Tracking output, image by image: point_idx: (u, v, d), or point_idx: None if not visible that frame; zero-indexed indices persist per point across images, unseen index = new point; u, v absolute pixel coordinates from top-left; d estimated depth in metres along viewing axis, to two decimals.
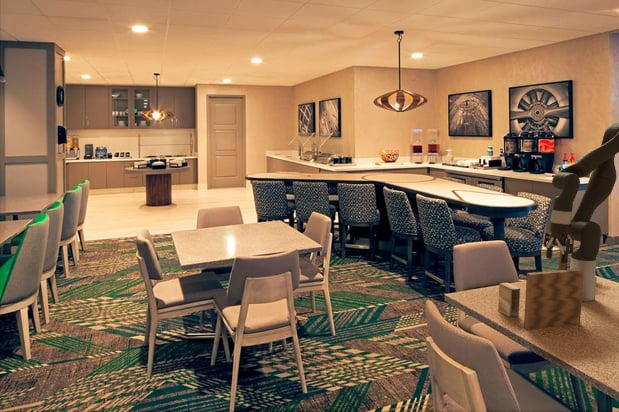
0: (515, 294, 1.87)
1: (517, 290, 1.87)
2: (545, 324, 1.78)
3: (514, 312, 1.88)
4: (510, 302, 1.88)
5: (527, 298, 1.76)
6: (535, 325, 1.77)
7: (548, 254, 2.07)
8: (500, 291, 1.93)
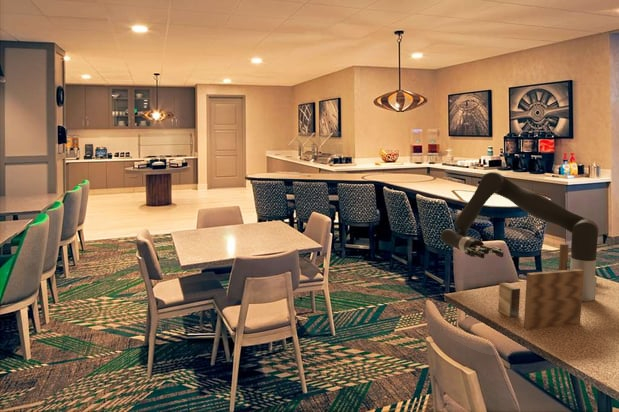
0: (515, 294, 1.87)
1: (517, 290, 1.87)
2: (545, 324, 1.78)
3: (514, 312, 1.88)
4: (510, 302, 1.88)
5: (527, 298, 1.76)
6: (535, 325, 1.77)
7: (499, 255, 2.03)
8: (500, 291, 1.93)
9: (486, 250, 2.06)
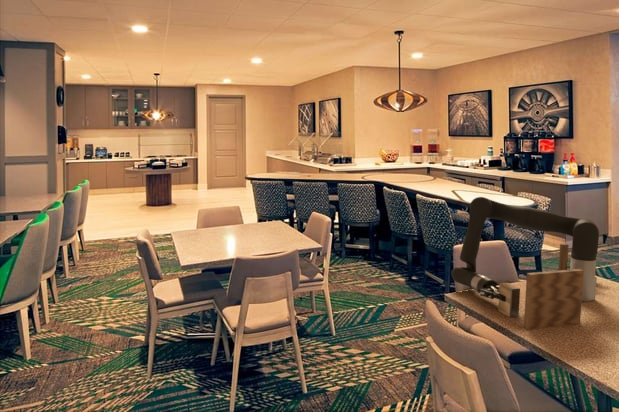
0: (515, 294, 1.87)
1: (517, 290, 1.87)
2: (545, 324, 1.78)
3: (514, 312, 1.88)
4: (510, 302, 1.88)
5: (527, 298, 1.76)
6: (535, 325, 1.77)
7: None
8: (500, 291, 1.93)
9: (497, 291, 1.98)
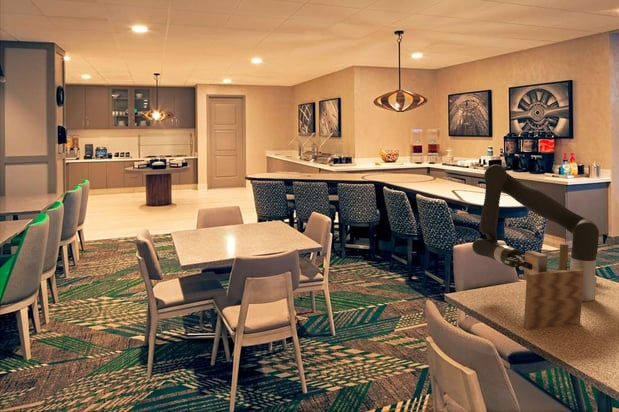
0: (542, 261, 1.80)
1: (544, 257, 1.80)
2: (545, 324, 1.78)
3: None
4: (537, 270, 1.81)
5: (527, 298, 1.76)
6: (535, 325, 1.77)
7: None
8: (526, 259, 1.87)
9: None
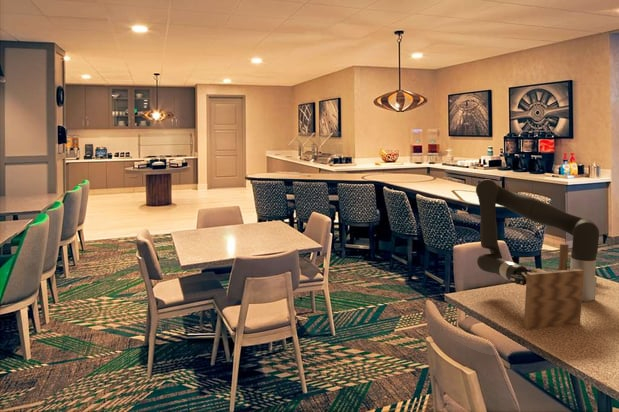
0: None
1: None
2: (545, 324, 1.78)
3: None
4: None
5: (527, 298, 1.76)
6: (535, 325, 1.77)
7: None
8: None
9: None
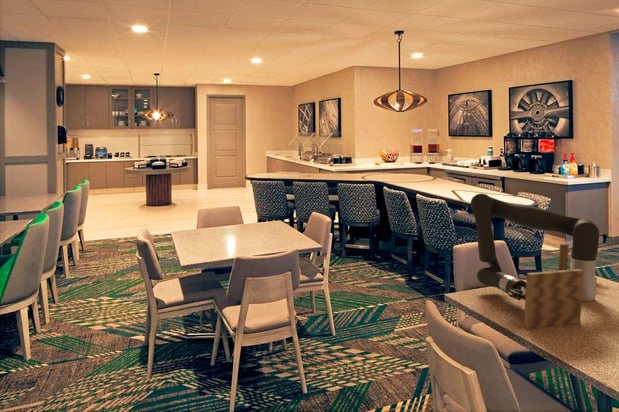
0: None
1: None
2: (545, 324, 1.78)
3: None
4: None
5: (527, 298, 1.76)
6: (535, 325, 1.77)
7: None
8: None
9: None
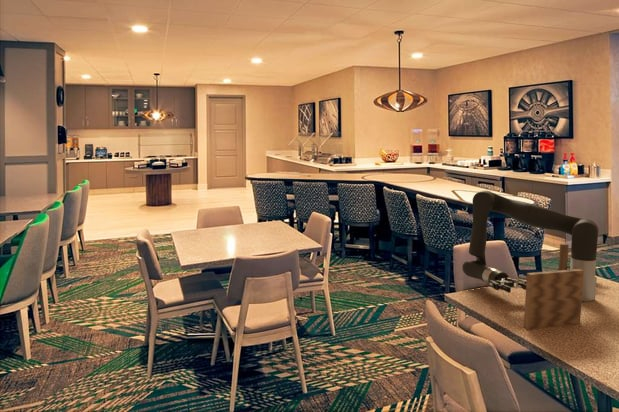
0: None
1: None
2: (545, 324, 1.78)
3: None
4: None
5: (527, 298, 1.76)
6: (535, 325, 1.77)
7: (525, 288, 2.00)
8: None
9: (511, 283, 2.03)
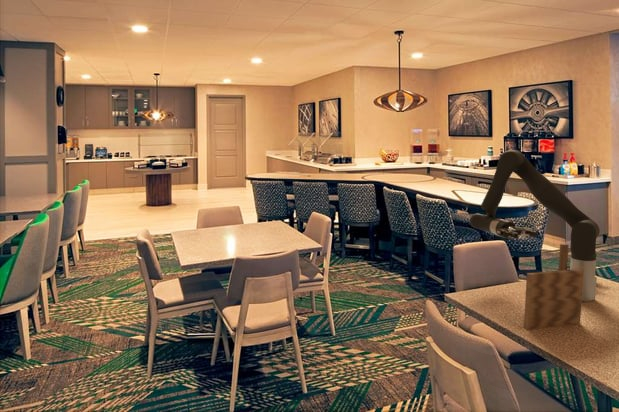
0: None
1: None
2: (545, 324, 1.78)
3: None
4: None
5: (527, 298, 1.76)
6: (535, 325, 1.77)
7: (532, 235, 2.04)
8: None
9: (519, 231, 2.07)
